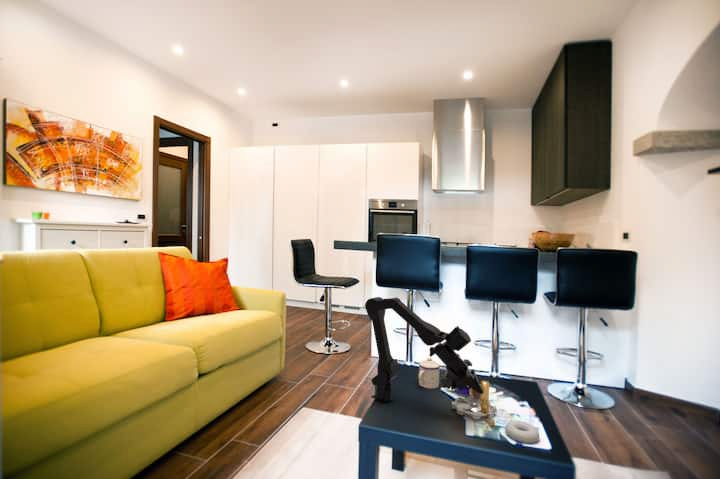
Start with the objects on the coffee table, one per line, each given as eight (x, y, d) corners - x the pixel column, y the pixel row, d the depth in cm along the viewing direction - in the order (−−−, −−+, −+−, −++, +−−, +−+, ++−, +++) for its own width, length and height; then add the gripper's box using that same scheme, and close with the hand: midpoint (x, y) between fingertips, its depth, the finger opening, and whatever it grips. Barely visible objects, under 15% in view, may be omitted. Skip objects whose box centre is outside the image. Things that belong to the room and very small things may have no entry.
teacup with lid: (425, 379, 164) (426, 353, 164) (443, 385, 157) (444, 358, 158) (410, 386, 155) (410, 359, 155) (428, 392, 149) (429, 364, 149)
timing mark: (485, 422, 125) (485, 419, 125) (489, 421, 126) (489, 418, 126) (490, 425, 123) (490, 422, 123) (494, 424, 123) (494, 421, 123)
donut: (502, 438, 115) (536, 448, 110) (502, 427, 115) (536, 437, 110) (508, 426, 123) (541, 435, 118) (508, 416, 123) (541, 424, 118)
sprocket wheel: (453, 416, 126) (454, 382, 126) (451, 398, 141) (451, 367, 141) (500, 421, 123) (500, 386, 123) (492, 402, 138) (493, 371, 138)
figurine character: (444, 394, 151) (477, 402, 140) (442, 375, 152) (475, 382, 141) (453, 390, 156) (485, 398, 145) (451, 372, 157) (484, 378, 146)
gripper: (434, 364, 139) (463, 397, 136) (431, 381, 121) (465, 419, 118) (456, 345, 138) (486, 378, 135) (456, 360, 120) (491, 398, 117)
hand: (481, 393), depth 126 cm, fingers closed
